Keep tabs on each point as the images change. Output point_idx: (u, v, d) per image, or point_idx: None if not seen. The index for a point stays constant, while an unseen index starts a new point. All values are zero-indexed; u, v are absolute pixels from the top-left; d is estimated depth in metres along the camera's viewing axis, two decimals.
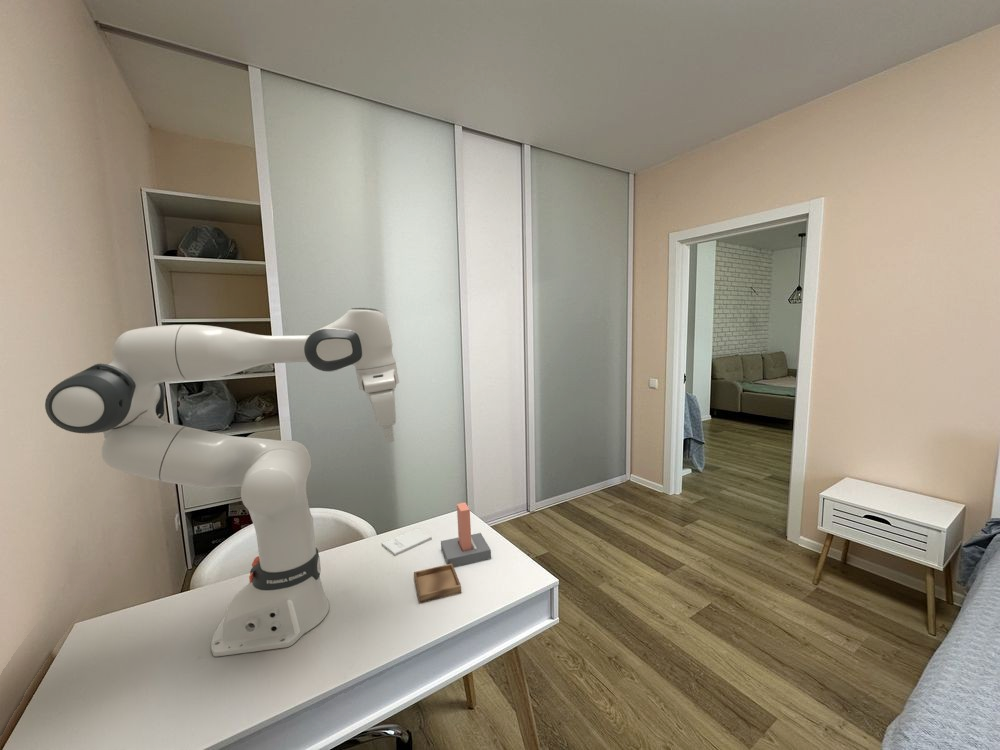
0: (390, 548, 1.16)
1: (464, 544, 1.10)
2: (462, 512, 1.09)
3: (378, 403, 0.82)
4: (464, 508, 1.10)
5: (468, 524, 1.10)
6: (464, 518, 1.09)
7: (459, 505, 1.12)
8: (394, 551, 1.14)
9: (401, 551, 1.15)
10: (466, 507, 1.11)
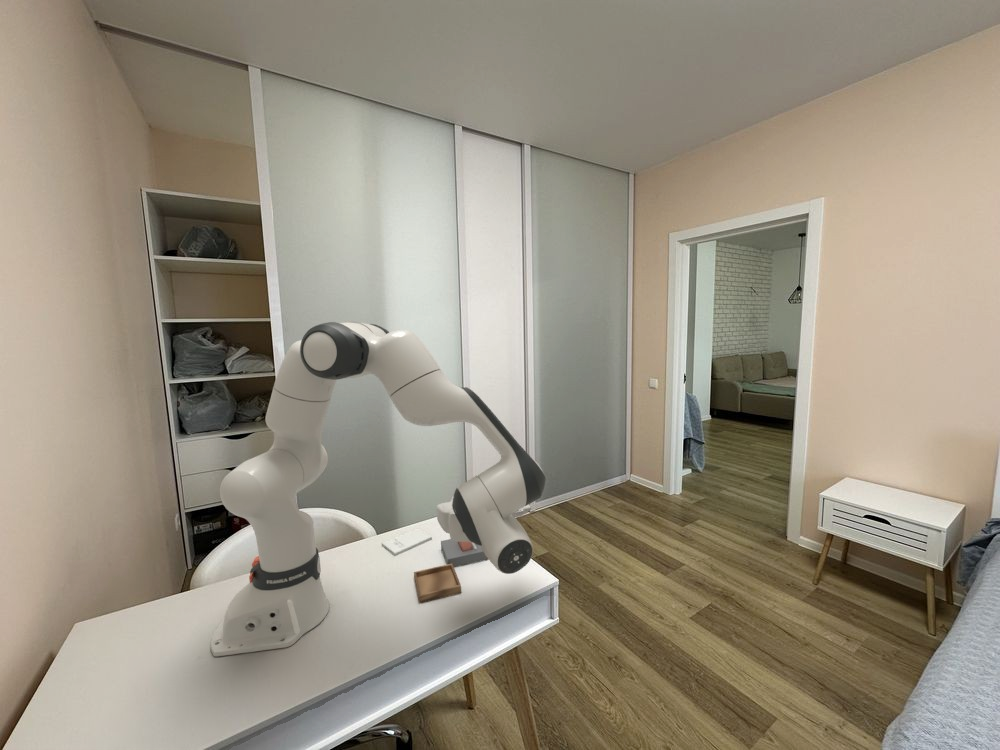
0: (390, 548, 1.16)
1: (464, 544, 1.10)
2: None
3: (441, 516, 0.87)
4: None
5: None
6: None
7: None
8: (394, 551, 1.14)
9: (401, 551, 1.15)
10: None
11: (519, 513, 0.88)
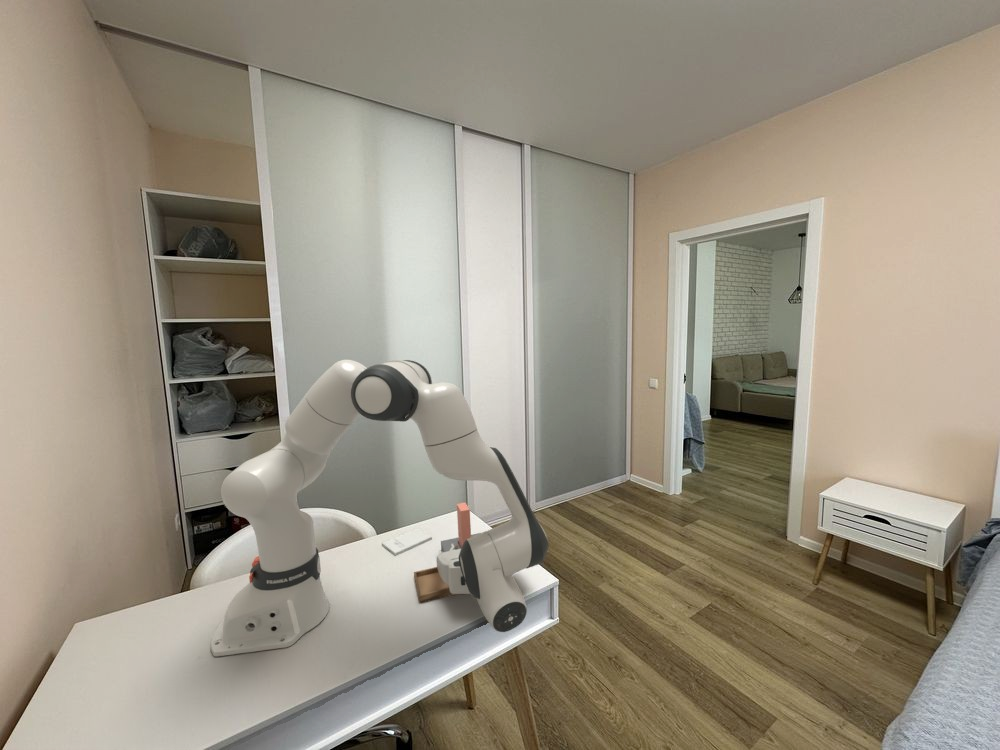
0: (390, 548, 1.16)
1: None
2: (462, 512, 1.09)
3: (441, 567, 0.92)
4: (464, 508, 1.10)
5: (468, 524, 1.10)
6: (464, 518, 1.09)
7: (459, 505, 1.12)
8: (394, 551, 1.14)
9: (401, 551, 1.15)
10: (466, 507, 1.11)
11: None
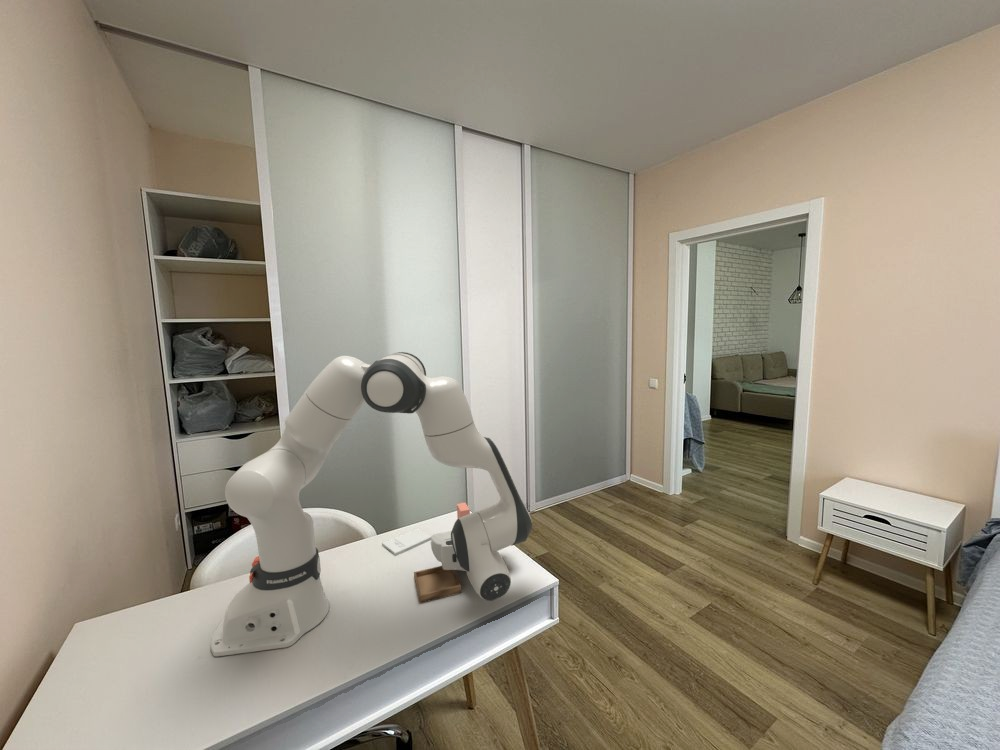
0: (390, 548, 1.16)
1: None
2: (462, 512, 1.09)
3: (435, 546, 1.00)
4: (464, 508, 1.10)
5: None
6: None
7: (459, 505, 1.12)
8: (395, 551, 1.14)
9: (402, 551, 1.15)
10: (466, 507, 1.11)
11: None
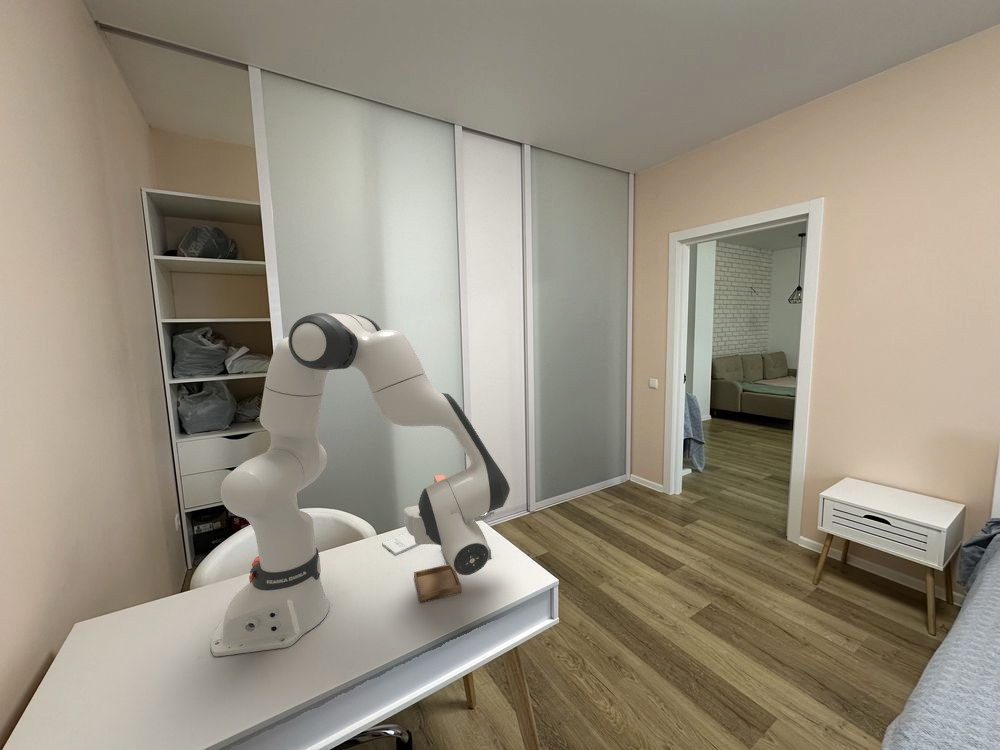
0: (391, 548, 1.16)
1: None
2: None
3: (407, 519, 0.90)
4: None
5: None
6: None
7: (436, 477, 1.02)
8: (395, 551, 1.14)
9: (402, 551, 1.15)
10: (444, 478, 1.01)
11: (482, 517, 0.92)
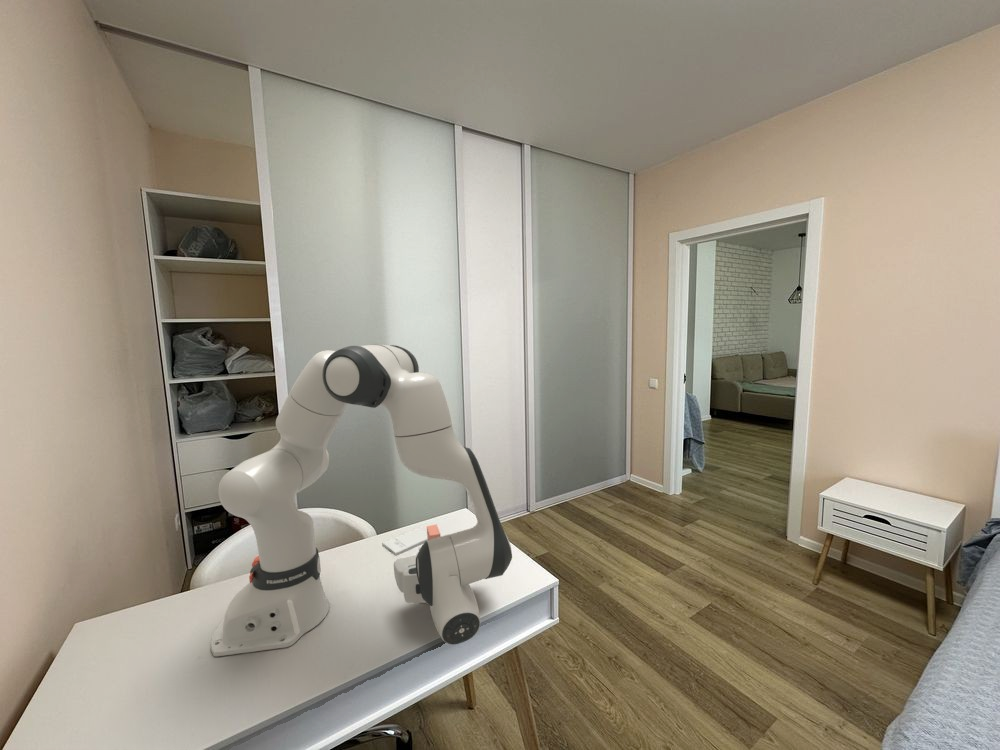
0: (391, 548, 1.16)
1: None
2: (431, 537, 0.95)
3: (397, 574, 0.87)
4: (434, 532, 0.96)
5: None
6: None
7: (429, 528, 0.99)
8: (395, 551, 1.14)
9: (402, 551, 1.15)
10: (437, 530, 0.97)
11: None
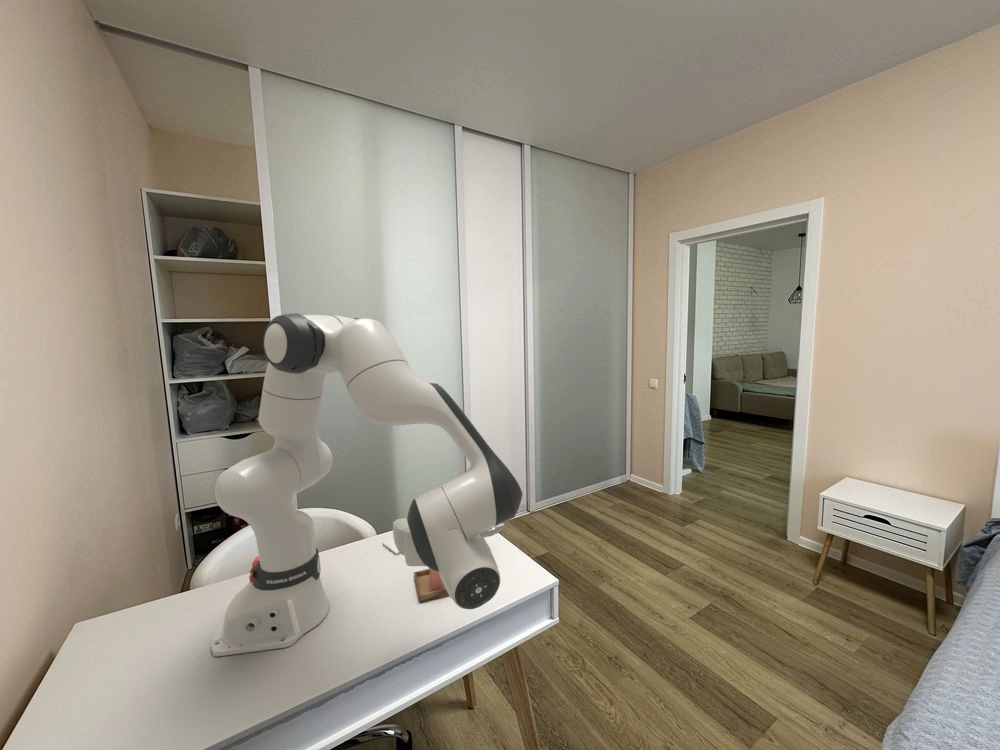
0: (391, 548, 1.16)
1: (434, 573, 0.96)
2: None
3: (397, 534, 0.73)
4: None
5: None
6: None
7: None
8: (395, 551, 1.14)
9: None
10: None
11: (490, 532, 0.75)
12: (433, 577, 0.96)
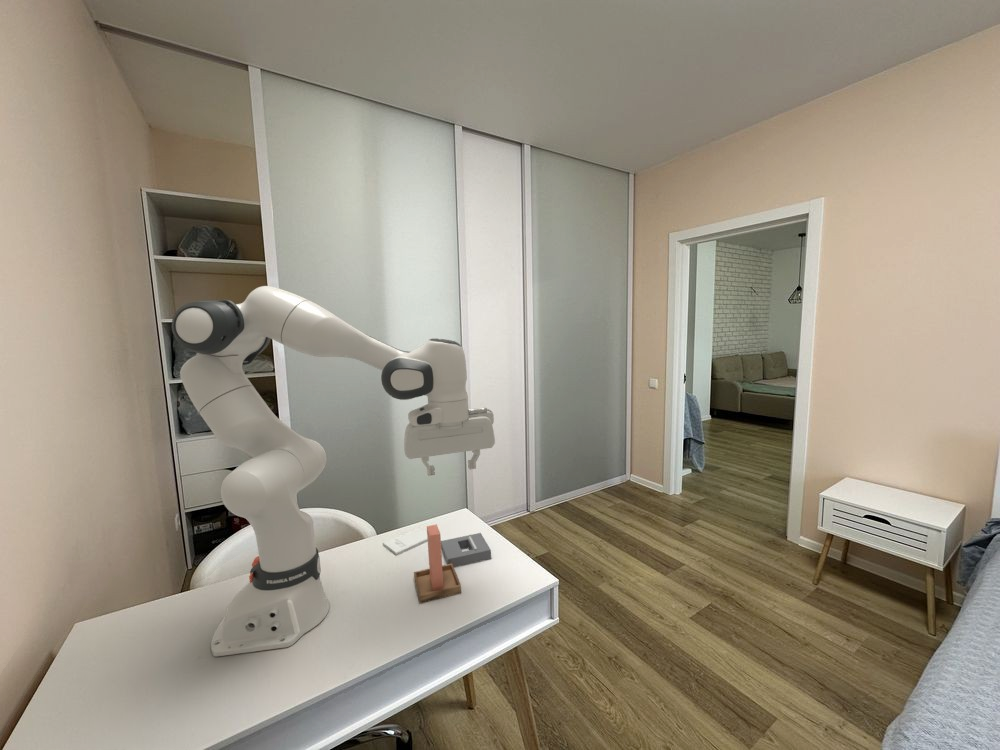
0: (391, 548, 1.16)
1: (434, 573, 0.96)
2: (431, 537, 0.95)
3: (405, 433, 0.87)
4: (434, 532, 0.96)
5: (439, 550, 0.96)
6: (434, 544, 0.95)
7: (429, 528, 0.99)
8: (396, 550, 1.14)
9: (403, 550, 1.15)
10: (437, 530, 0.97)
11: (478, 409, 0.91)
12: (433, 577, 0.96)
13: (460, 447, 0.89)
